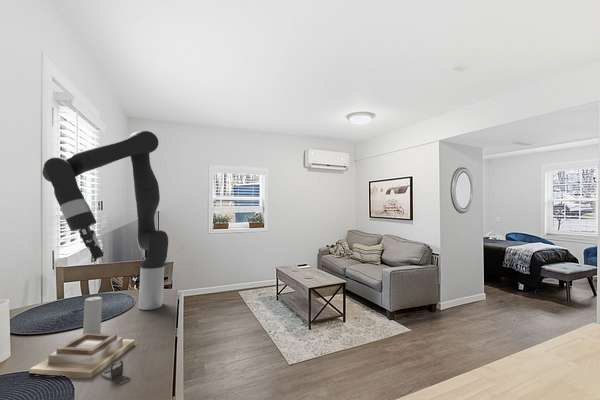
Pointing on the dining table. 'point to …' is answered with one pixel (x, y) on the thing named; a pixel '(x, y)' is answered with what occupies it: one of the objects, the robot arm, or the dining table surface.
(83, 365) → the stand
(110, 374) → the strap clip
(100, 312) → the beverage can
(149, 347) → the dining table surface
